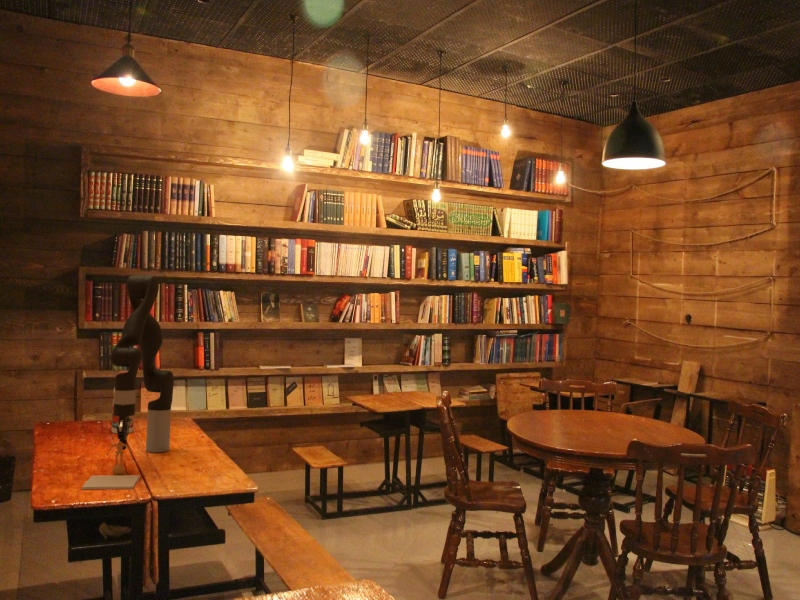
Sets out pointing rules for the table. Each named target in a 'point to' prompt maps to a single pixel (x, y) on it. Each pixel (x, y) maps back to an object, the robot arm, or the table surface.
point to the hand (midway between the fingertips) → (122, 449)
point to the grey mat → (111, 482)
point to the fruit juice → (116, 418)
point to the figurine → (118, 468)
